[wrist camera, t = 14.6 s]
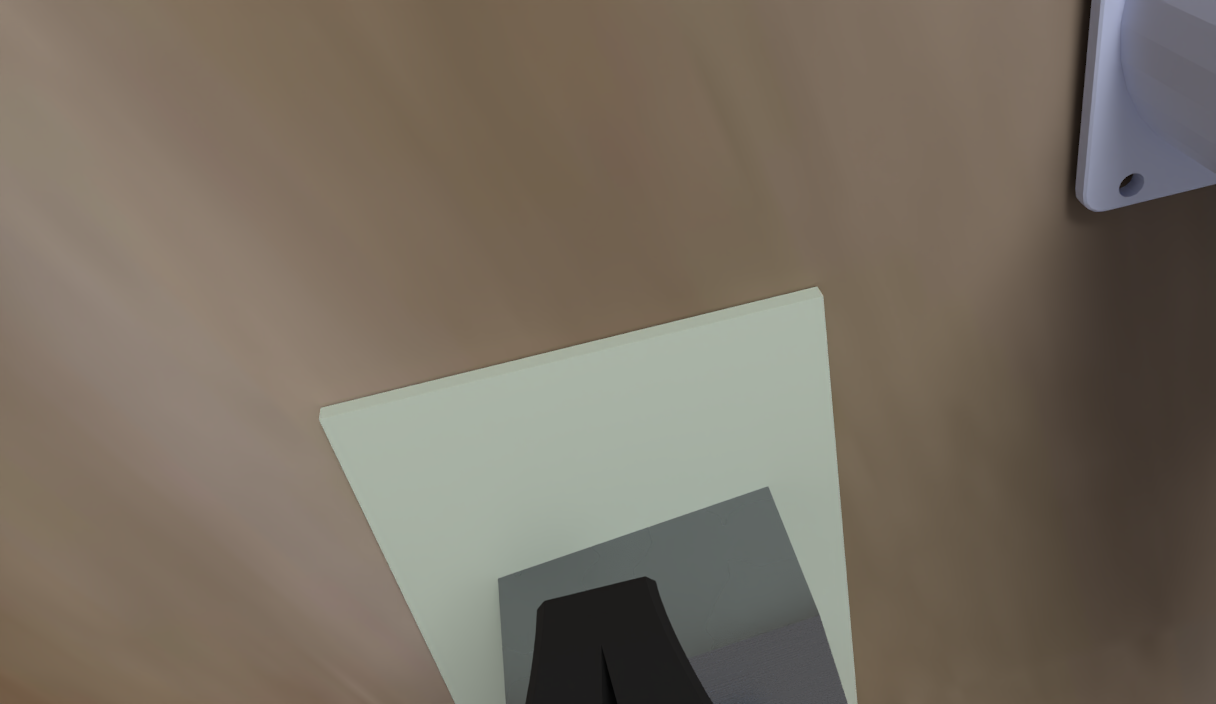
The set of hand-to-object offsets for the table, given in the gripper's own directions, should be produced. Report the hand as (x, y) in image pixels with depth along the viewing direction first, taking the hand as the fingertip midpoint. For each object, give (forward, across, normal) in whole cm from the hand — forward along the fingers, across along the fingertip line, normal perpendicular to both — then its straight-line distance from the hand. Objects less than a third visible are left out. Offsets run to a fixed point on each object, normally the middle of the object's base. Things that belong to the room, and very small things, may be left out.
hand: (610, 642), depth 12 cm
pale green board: (+10, 0, +11) cm, 15 cm away
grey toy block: (+8, 0, +8) cm, 11 cm away
